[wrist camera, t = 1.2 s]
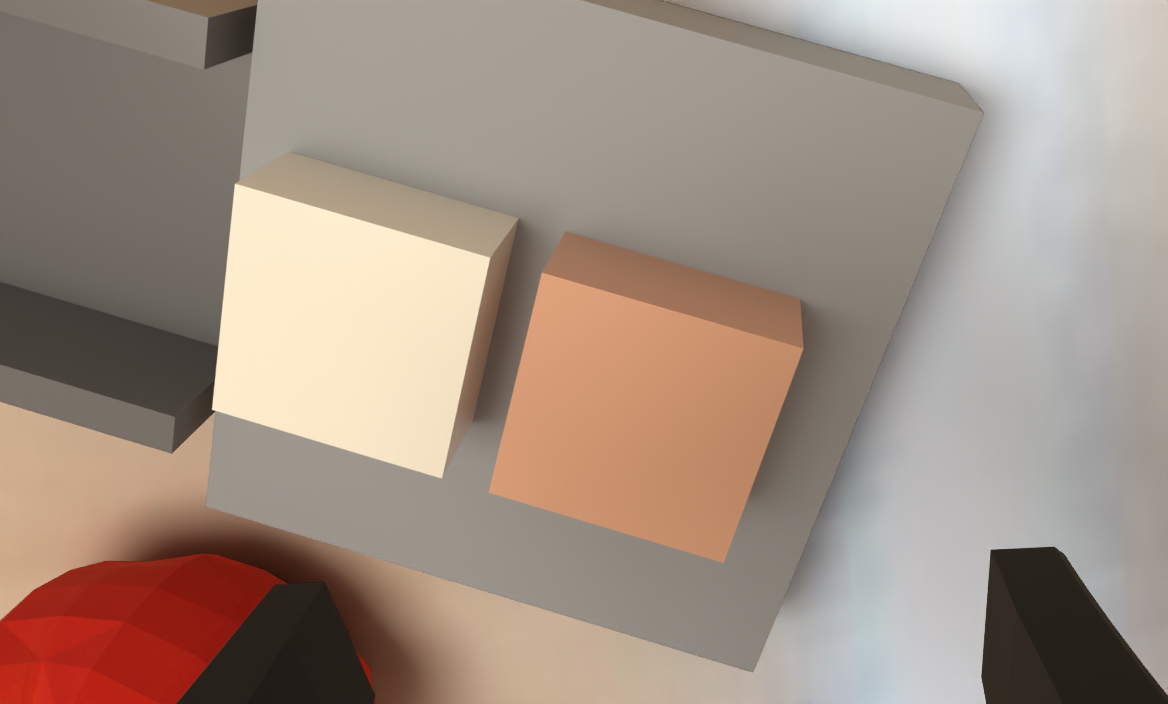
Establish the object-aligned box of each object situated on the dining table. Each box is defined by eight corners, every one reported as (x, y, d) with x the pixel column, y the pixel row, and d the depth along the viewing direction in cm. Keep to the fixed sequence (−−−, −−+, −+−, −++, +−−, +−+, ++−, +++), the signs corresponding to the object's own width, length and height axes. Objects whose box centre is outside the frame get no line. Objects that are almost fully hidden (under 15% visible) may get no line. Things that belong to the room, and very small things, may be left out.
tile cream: (519, 218, 22) (490, 257, 20) (472, 422, 24) (442, 478, 22) (288, 151, 22) (234, 183, 20) (263, 359, 24) (212, 409, 22)
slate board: (958, 83, 23) (983, 112, 20) (754, 596, 29) (753, 672, 26) (325, -93, 23) (266, -88, 20) (257, 447, 29) (205, 506, 26)
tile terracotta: (800, 299, 22) (803, 348, 20) (728, 498, 24) (723, 563, 22) (565, 231, 22) (541, 272, 20) (514, 434, 24) (488, 492, 22)
